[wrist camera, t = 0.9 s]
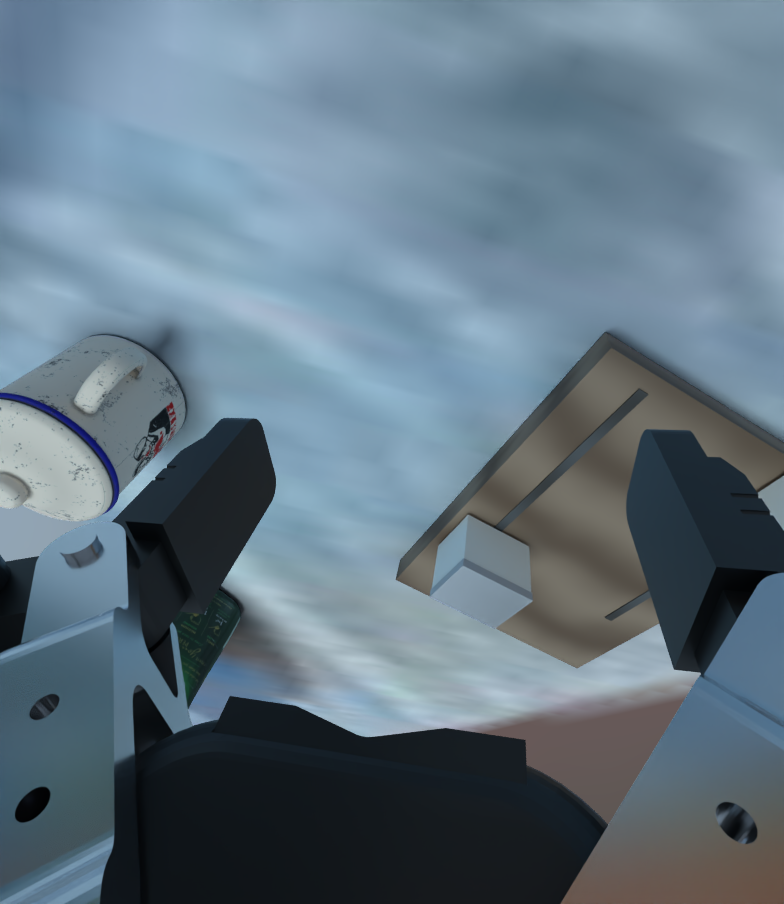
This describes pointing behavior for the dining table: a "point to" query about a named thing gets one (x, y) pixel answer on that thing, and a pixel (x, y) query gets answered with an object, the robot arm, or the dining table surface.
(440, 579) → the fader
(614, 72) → the dining table surface
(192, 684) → the coffee jar
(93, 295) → the dining table surface
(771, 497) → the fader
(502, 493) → the fader board
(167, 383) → the teacup with lid
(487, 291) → the dining table surface
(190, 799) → the robot arm
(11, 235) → the dining table surface
